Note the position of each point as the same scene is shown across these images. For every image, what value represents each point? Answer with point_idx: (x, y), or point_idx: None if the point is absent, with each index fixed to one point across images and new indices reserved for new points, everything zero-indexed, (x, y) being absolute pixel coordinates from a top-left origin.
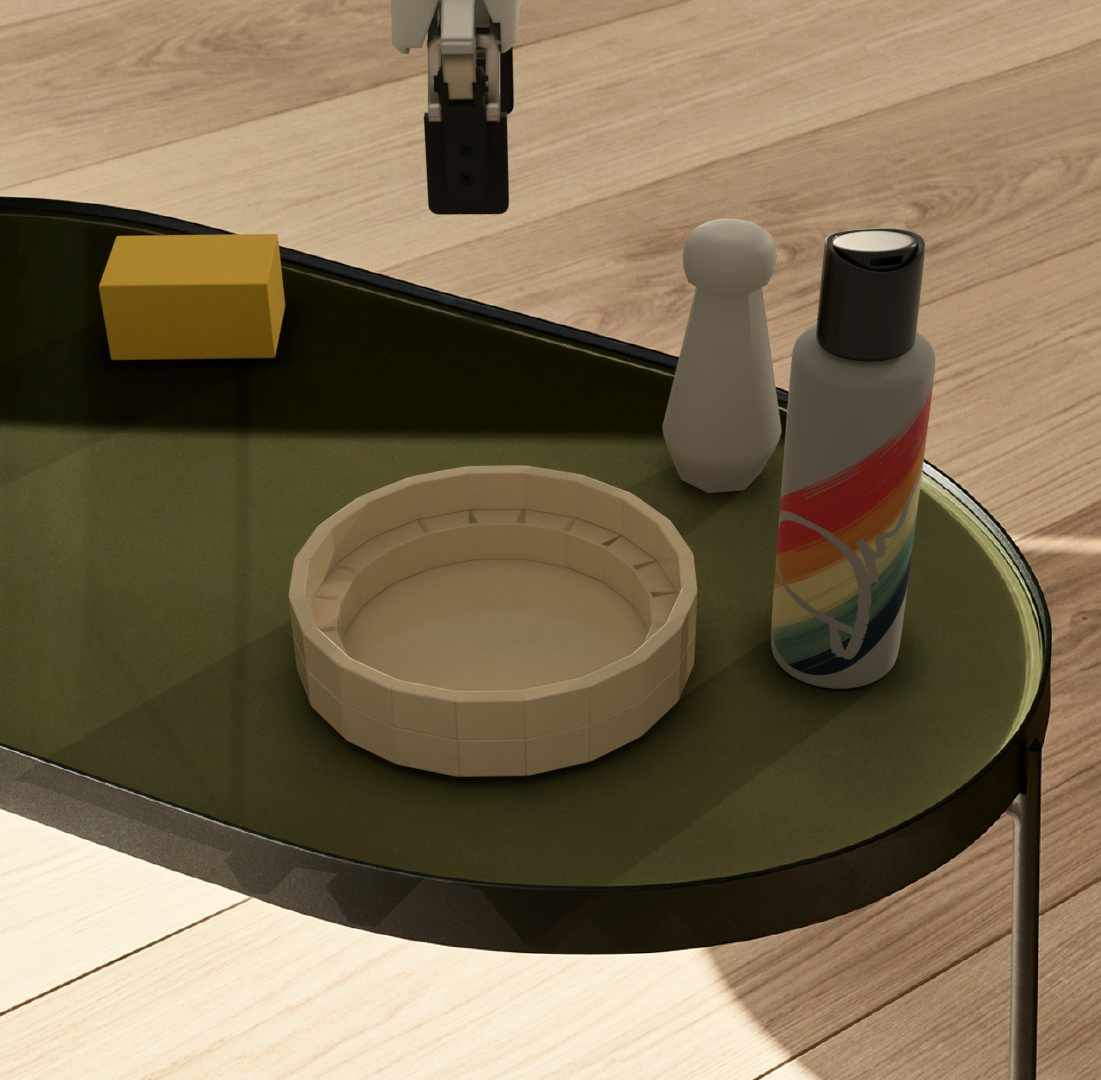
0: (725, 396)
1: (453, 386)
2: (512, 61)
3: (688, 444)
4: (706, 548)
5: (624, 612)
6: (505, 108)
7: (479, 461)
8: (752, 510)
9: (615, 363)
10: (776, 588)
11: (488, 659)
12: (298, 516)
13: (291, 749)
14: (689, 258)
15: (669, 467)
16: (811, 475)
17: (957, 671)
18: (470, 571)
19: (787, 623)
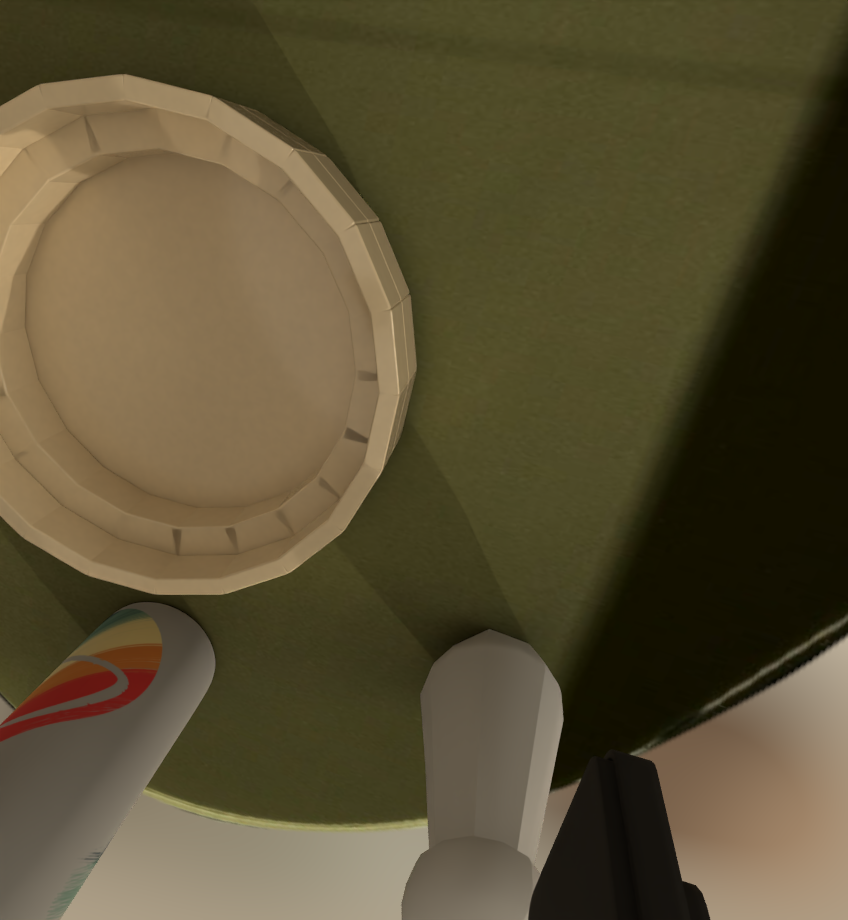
0: (427, 743)
1: (823, 437)
2: None
3: (450, 664)
4: (352, 608)
5: (234, 494)
6: (532, 909)
7: (610, 423)
8: (410, 672)
9: (786, 648)
10: (112, 647)
11: (171, 331)
12: (554, 148)
13: (62, 67)
14: (464, 871)
15: (520, 626)
16: None
17: None
18: (344, 352)
19: (99, 634)
